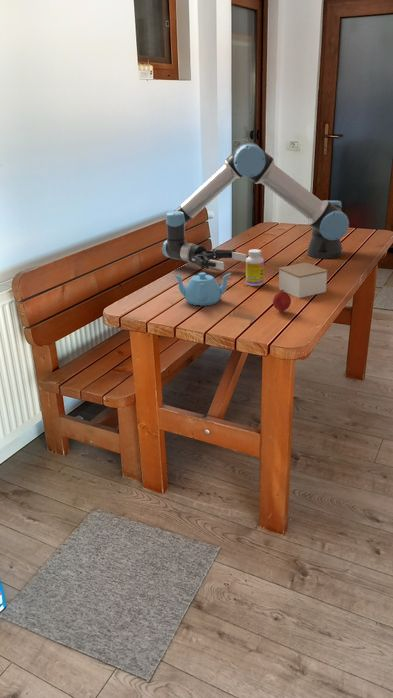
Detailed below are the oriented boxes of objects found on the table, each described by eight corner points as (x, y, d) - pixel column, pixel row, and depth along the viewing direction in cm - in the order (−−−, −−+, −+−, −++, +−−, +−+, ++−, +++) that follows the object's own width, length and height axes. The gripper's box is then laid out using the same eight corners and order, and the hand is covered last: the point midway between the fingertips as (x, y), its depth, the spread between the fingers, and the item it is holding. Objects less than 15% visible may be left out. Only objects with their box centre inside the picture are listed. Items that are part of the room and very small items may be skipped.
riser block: (305, 283, 216) (306, 262, 213) (326, 291, 206) (327, 270, 202) (278, 288, 211) (278, 267, 208) (298, 298, 201) (299, 276, 197)
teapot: (204, 291, 211) (203, 264, 207) (233, 300, 201) (233, 272, 197) (174, 301, 202) (172, 273, 198) (203, 311, 192) (202, 282, 188)
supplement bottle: (262, 287, 214) (262, 253, 208) (244, 286, 215) (244, 252, 210) (264, 281, 220) (264, 248, 214) (247, 281, 221) (247, 248, 216)
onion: (271, 309, 192) (271, 286, 188) (288, 308, 192) (288, 285, 189) (274, 315, 186) (275, 292, 183) (292, 314, 187) (293, 291, 183)
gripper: (214, 255, 243) (254, 263, 230) (172, 269, 227) (213, 279, 214) (213, 238, 240) (254, 245, 227) (171, 251, 224) (213, 259, 211)
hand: (234, 261), depth 220 cm, fingers open, 13 cm apart
